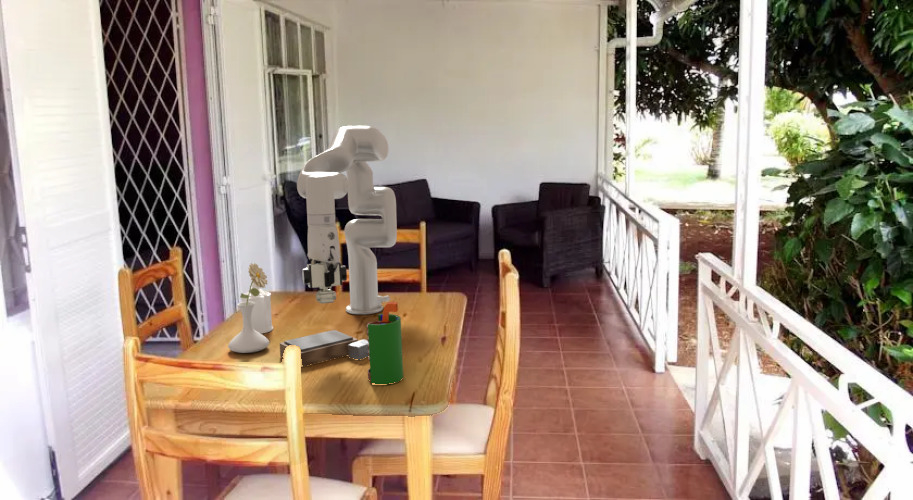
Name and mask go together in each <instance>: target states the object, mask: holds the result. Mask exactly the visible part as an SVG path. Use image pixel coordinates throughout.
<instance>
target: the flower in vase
mask: <svg viewBox="0 0 913 500" xmlns="http://www.w3.org/2000/svg"><path fill="white" fill-rule="evenodd" d="M247 268H248V274H249V277H250V280H251V282H252V283H253V282H254V284H256V286H257V287H258V286H259V287H260V288H261V289H263V288H266V285H268V279H267V278H268V276H267V275H266V273H265V272H264V270H263V268H262V267H259V265H258V264H257V263H255V262H254V263H253V262H251V263H250V264H249V267H247ZM252 283H250V286H249V290H248V292H249V294H248V295H245V294H244V293H240V297H241V298H247V302H242V301H240V302H238V303H237V304H236V306H237V307H239V309H240V311H241V315H242V330H241V331H240V332H238V333H237V334H236V335H235V336H234V337H233V338H232V339H231V340H230V341H229V342H228V346H227V347H228V349H229V350H230V351H232V352H234V353H238V354H246V353H249V354H250V353H256V352H260V351H262V350H264V349H266V348H267V347H268V346H269V345H270V340H269V339H268V337H266V336H265V335H263V334H260V333H259V332H257V331H256V330H254V329H253V327H252V322H251V313H252V309H253V306H254V305H255V302H251V301H248V299H249V297H250V293H251V294H252V295H253V296H258V295H259V293H260V292H259V290H257V289H256V288H252V289H251V287H252ZM240 297H239V298H240ZM241 298H240V299H241Z"/></svg>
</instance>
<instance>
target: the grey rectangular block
mask: <svg viewBox="0 0 913 500" xmlns="http://www.w3.org/2000/svg"><path fill="white" fill-rule="evenodd" d="M368 344H369V342H368V341H367V339H364V338H363V339H360V340H358V341H357V342H354V343H352V344H349V345H348V356H347V357H348V358H349V357H350V358H354V359H358V360H360V359H363V358H365V357H368V356H369V355H368V350H369V349H368ZM350 358H349V359H350ZM368 358H369V357H368ZM354 359H353V360H354ZM365 359H366V358H365ZM358 360H357V361H358ZM363 360H364V359H363ZM360 361H361V360H360Z"/></svg>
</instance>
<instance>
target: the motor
mask: <svg viewBox="0 0 913 500" xmlns="http://www.w3.org/2000/svg"><path fill="white" fill-rule="evenodd" d="M398 305H399V303H398V302H395V301H387V303H386V305H384V306H383V310H382V313H378V314H377V316H378V317H377V318H378V319H377V320H375V321H370V322H368V323H367V324H366V329H367V331H366V334H367V336H368V337H367V339H366V340H367V341H368V342H369V344H368V349H369V350H368V355H369V357H368V362H369V368H368V370H367V379H369V380H371V382H370V384H371V383H375V384H389V383H394V382H398V381H400V380H401V379H402V378H403V379H404V363H403V361H404V360H403V341H402V338H403V337H402V321H401V320H402V317H401V316H399V315H398V314H392V313H397V312H398V311H399V309H398V308H399V306H398ZM391 312H392V313H391ZM403 379H402V380H403ZM369 380H368V381H369ZM402 380H401V381H402ZM401 381H400V382H401ZM398 383H399V382H398Z"/></svg>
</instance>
